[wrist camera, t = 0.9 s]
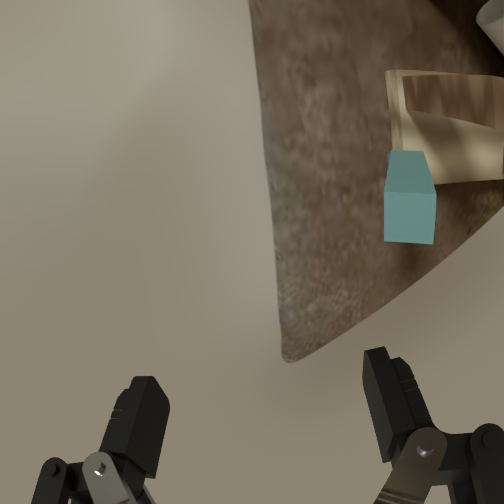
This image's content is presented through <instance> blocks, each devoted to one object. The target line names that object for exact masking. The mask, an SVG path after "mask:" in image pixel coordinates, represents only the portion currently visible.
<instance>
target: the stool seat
mask: <svg viewBox="0 0 504 504" xmlns="http://www.w3.org/2000/svg"><path fill="white" fill-rule="evenodd" d="M384 72H385V79H386V86H387V94H388V102H389V111H390V122H391V133H392V147H393V150H409V151H423V152H424V155H425V158H426V161H427V164H428V167H429V170H430V174H431V177H432V180H433V184H445V183H457V182H469V181H482V180H497V179H504V78H502V77H497V76H491V75H463V74H454V73H444V72H432V71H415V70H390V71H384Z"/></svg>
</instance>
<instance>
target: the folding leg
mask: <svg viewBox="0 0 504 504" xmlns="http://www.w3.org/2000/svg"><path fill="white" fill-rule="evenodd" d="M386 154H387V177H386V183H385V188H384V241H391V242H406V243H421V244H433V240H434V228H435V214H436V191H435V187H434V184H433V180H432V177H431V174H430V170H429V167H428V164H427V161H426V158H425V155H424V152H423V151H409V150H391V151H389V152H386Z"/></svg>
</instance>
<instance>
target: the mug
mask: <svg viewBox="0 0 504 504" xmlns="http://www.w3.org/2000/svg"><path fill="white" fill-rule="evenodd" d="M476 22H477V24H478V25H479V26H480V28H481V29H482V30H483V31H484V32H485V33H486V35H487V36H488V37H489V38H490V39H491V41H492V42H493V43H494V44H495V46H496V47H497V48H498V49H499V51H500V52H501V53H502V55H503V56H504V0H489V1H488V2H487V3H486V4H484V5H483V7H482V8H481V9H480V10H479V12H478V14H477V16H476Z"/></svg>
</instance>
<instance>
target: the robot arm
mask: <svg viewBox="0 0 504 504" xmlns="http://www.w3.org/2000/svg"><path fill="white" fill-rule="evenodd" d="M362 378H363V387H364V391H365V395H366V398H367V402H368V406H369V410H370V413H371V417H372V421H373V425H374V429H375V433H376V436H377V441H378V445H379V449H380V453H381V457H382V461H383V463H385V462H389V461H391V464H392V468H393V470H392V472H391V474H390V476H389V478H388V479H387V481H386V483H385V485H384V487H383V488H382V490H381V492H380V493H379V495H378V497H377V498H376V500H375V502H374V503H373V504H424V501H425V499H426V497H427V495H428V493H429V491H430V488H431V486H436V485H447V486H448V490H449V495H450V500H451V504H504V431H503V430H502V428H500V427H499V426H498V425H496V424H490V423H488V424H484V425H481V426H479V427H478V428H477V429H476V430H475V431H474V432H473V433H463V434H448V433H444V432H442V431H440V430H439V429H438V428H437V427H436V426H435V425H434V424H433V422H432V420H431V417H430V414H429V412H428V409H427V407H426V404H425V402H424V399H423V397H422V394H421V392H420V389H419V388H418V385H417V382H416V380H415V379H414V375H413V373H412V370H411V368H410V366H409V365H408V364H407V363H406V362H405V361H404V360H403V359H401V358H400V357H398V358H394V359H390V357H389V355H388V352H387V350H386V348H385V347H379V348H375V349H370V350H365V351H364V362H363V376H362ZM169 412H170V404H169V400H168V398H167V396H166V395H165V393H164V392H163V390H162V389H161V387H160V385H159V384H158V382H157V381H156V379H155V378H154V377H153V376H135V377H134V378H133V379H132V382H131V385H130V387H129V389H125V390H124V391H123V392H122V393H121V394H120V396H119V397H118V398H117V401H116V404H115V406H114V411H113V412H112V414H111V419H110V420H109V423H108V426H107V429H106V432H105V435H104V437H103V440H102V443H101V446H100V449H99V451H98V452H95V453H92V454H91V455H89V456H88V457H87V458H86V459H85V461H84V462H79V463H71V464H67V463H65V462H64V461H63V460H62V459H60V458H56V457H53V458H50V459H49V460H47V461H46V462H45V463H44V464H43V466H42V469H41V472H40V475H39V478H38V482H37V485H36V489H35V492H34V495H33V499H32V502H31V504H68V500H69V498H70V499H71V504H156V503H155V502H154V500H153V498H152V497H151V495H150V493H149V491H148V490H147V488H146V486H145V485H144V480H145V478H153V479H155V477H156V472H157V467H158V462H159V457H160V453H161V448H162V443H163V438H164V434H165V430H166V425H167V420H168V416H169Z"/></svg>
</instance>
